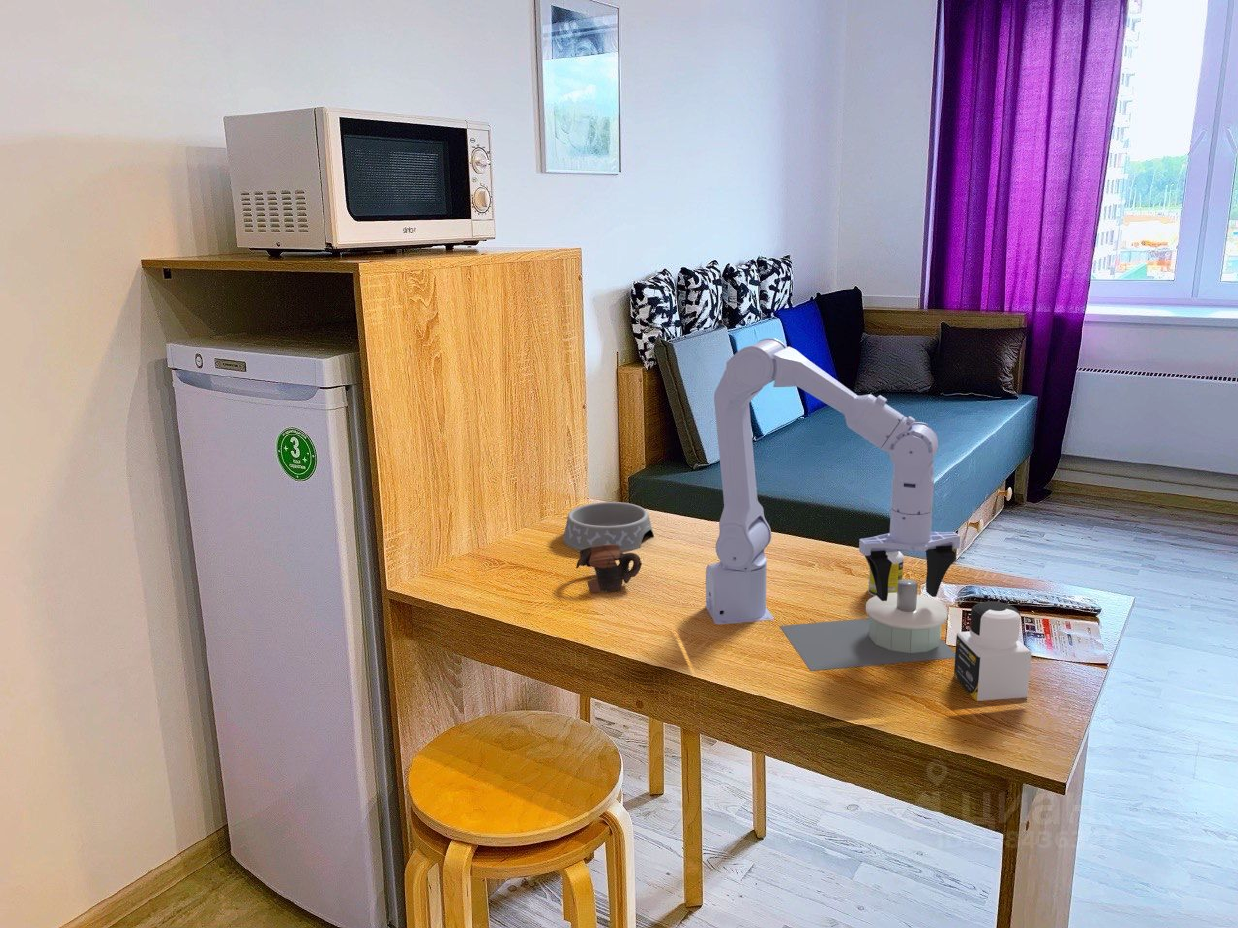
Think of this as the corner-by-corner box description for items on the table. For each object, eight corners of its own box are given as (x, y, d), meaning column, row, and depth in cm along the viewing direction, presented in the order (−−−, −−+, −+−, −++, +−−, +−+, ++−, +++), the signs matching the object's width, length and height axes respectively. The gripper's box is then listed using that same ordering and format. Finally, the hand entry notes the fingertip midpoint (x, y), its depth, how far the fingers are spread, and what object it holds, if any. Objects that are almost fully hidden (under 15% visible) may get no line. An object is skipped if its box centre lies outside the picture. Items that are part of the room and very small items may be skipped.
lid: (884, 633, 136) (886, 601, 135) (853, 600, 147) (854, 571, 146) (961, 625, 138) (964, 594, 136) (925, 594, 149) (927, 565, 148)
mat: (810, 674, 135) (810, 670, 134) (779, 629, 149) (779, 625, 149) (959, 660, 137) (959, 656, 137) (914, 617, 152) (915, 614, 151)
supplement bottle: (903, 602, 157) (905, 546, 155) (868, 600, 159) (871, 544, 156) (900, 589, 163) (903, 534, 160) (867, 588, 164) (869, 533, 161)
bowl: (885, 655, 138) (887, 629, 137) (859, 626, 148) (860, 602, 147) (951, 649, 139) (953, 623, 138) (921, 620, 149) (923, 596, 148)
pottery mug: (572, 597, 165) (566, 550, 167) (592, 600, 174) (586, 555, 176) (638, 584, 161) (631, 536, 164) (655, 588, 170) (648, 543, 172)
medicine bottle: (952, 678, 132) (958, 597, 129) (1002, 675, 133) (1009, 594, 130) (975, 704, 125) (981, 620, 122) (1028, 701, 126) (1036, 616, 123)
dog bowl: (665, 529, 197) (664, 504, 196) (630, 559, 181) (629, 532, 179) (589, 520, 204) (588, 496, 202) (549, 549, 188) (548, 522, 186)
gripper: (873, 520, 134) (869, 611, 137) (972, 513, 135) (966, 602, 139) (855, 505, 140) (851, 592, 144) (949, 499, 142) (943, 584, 146)
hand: (906, 596), depth 142 cm, fingers open, 7 cm apart
